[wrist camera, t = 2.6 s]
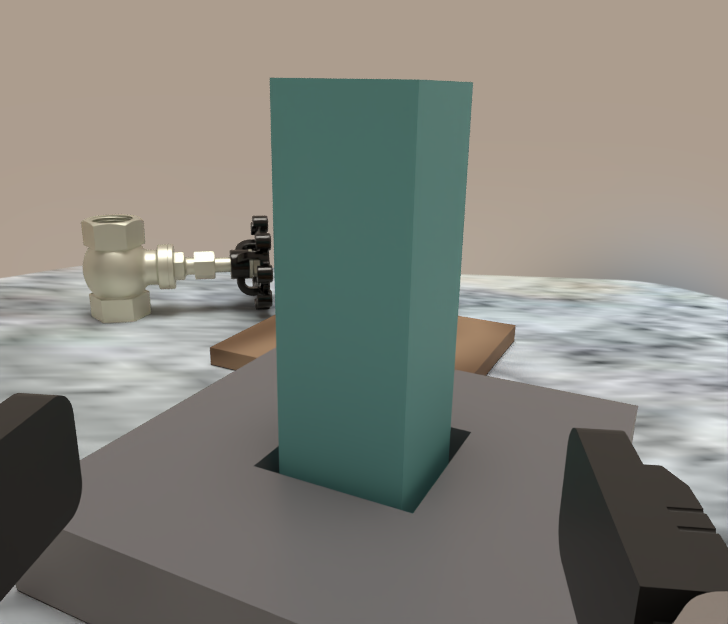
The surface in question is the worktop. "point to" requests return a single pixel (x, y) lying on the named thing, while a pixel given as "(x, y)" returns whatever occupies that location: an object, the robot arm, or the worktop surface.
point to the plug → (367, 279)
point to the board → (473, 353)
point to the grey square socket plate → (320, 519)
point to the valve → (161, 266)
